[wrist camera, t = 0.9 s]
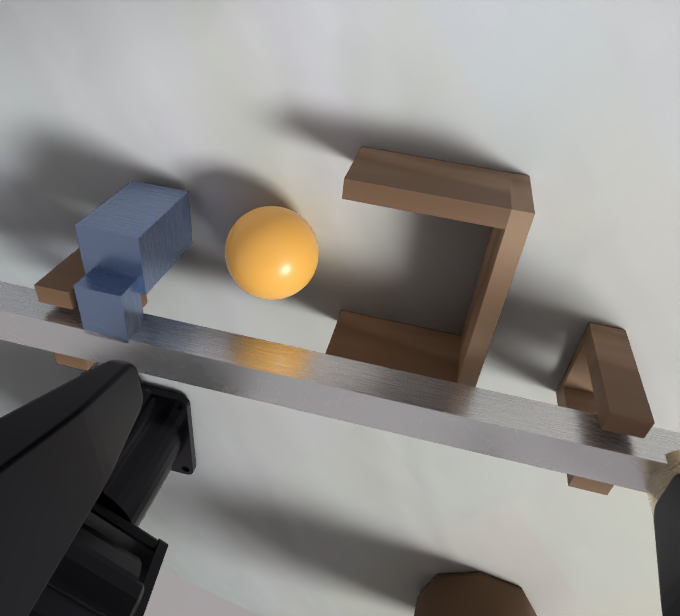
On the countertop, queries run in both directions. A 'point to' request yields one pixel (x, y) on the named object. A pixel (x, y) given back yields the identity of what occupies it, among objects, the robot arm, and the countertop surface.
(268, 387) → the rod
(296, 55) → the countertop surface
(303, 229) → the ball
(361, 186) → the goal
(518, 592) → the beer bottle
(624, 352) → the block
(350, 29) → the countertop surface
